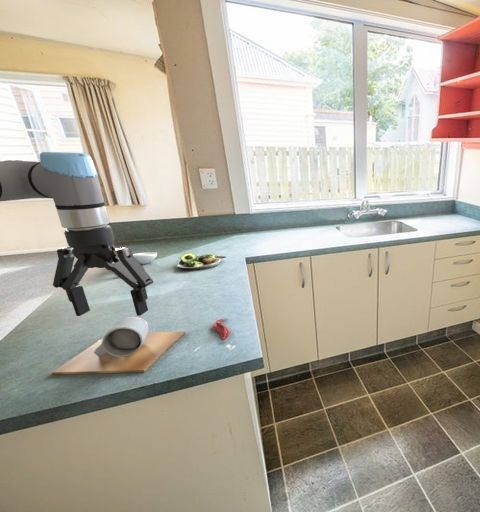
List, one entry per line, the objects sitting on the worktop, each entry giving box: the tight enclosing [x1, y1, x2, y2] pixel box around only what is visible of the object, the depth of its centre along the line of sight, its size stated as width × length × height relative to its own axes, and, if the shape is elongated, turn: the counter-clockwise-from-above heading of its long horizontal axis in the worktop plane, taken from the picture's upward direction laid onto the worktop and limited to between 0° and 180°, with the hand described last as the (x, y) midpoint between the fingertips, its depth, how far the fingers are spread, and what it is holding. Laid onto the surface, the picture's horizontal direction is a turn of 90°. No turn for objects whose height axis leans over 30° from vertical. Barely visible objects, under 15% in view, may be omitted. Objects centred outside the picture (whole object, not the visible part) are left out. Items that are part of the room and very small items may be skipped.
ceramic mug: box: [94, 316, 150, 357], centre depth 73 cm, size 11×8×8 cm
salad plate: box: [177, 252, 228, 272], centre depth 136 cm, size 19×18×5 cm
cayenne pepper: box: [212, 318, 230, 341], centre depth 84 cm, size 12×5×2 cm, turn 22°
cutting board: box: [51, 330, 186, 376], centre depth 74 cm, size 20×16×1 cm
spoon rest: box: [113, 251, 158, 277], centre depth 131 cm, size 24×12×7 cm, turn 15°
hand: (113, 313), depth 71 cm, fingers open, 13 cm apart
